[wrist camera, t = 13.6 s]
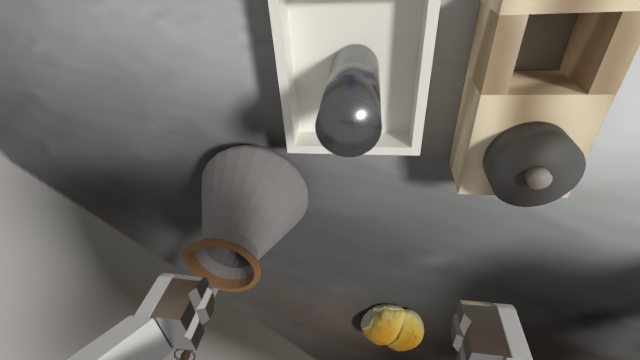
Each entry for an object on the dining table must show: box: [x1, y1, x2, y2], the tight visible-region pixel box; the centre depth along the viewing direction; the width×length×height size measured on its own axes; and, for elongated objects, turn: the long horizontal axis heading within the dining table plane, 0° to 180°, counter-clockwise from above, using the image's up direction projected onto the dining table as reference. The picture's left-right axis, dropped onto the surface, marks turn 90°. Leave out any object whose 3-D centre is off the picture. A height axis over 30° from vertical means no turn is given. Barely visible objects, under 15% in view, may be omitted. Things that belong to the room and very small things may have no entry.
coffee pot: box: [174, 145, 308, 360], centre depth 36 cm, size 21×12×15 cm, turn 156°
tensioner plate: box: [449, 0, 640, 207], centre depth 27 cm, size 9×16×8 cm, turn 3°
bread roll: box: [361, 304, 424, 351], centre depth 51 cm, size 8×9×4 cm
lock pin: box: [315, 44, 382, 157], centre depth 25 cm, size 4×4×11 cm
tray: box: [268, 0, 441, 156], centre depth 29 cm, size 12×14×4 cm
